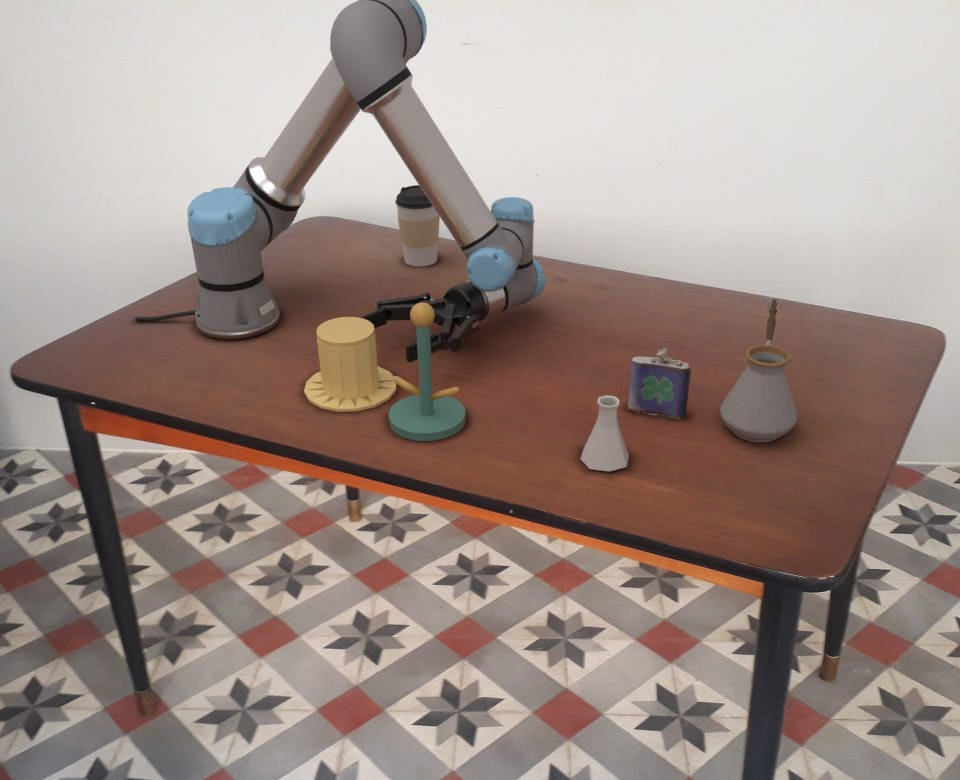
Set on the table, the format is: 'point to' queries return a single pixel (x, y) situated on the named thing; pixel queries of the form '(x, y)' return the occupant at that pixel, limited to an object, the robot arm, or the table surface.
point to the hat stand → (426, 393)
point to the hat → (348, 368)
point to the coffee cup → (417, 226)
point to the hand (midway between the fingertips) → (380, 341)
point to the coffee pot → (761, 393)
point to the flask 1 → (606, 439)
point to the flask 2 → (659, 386)
